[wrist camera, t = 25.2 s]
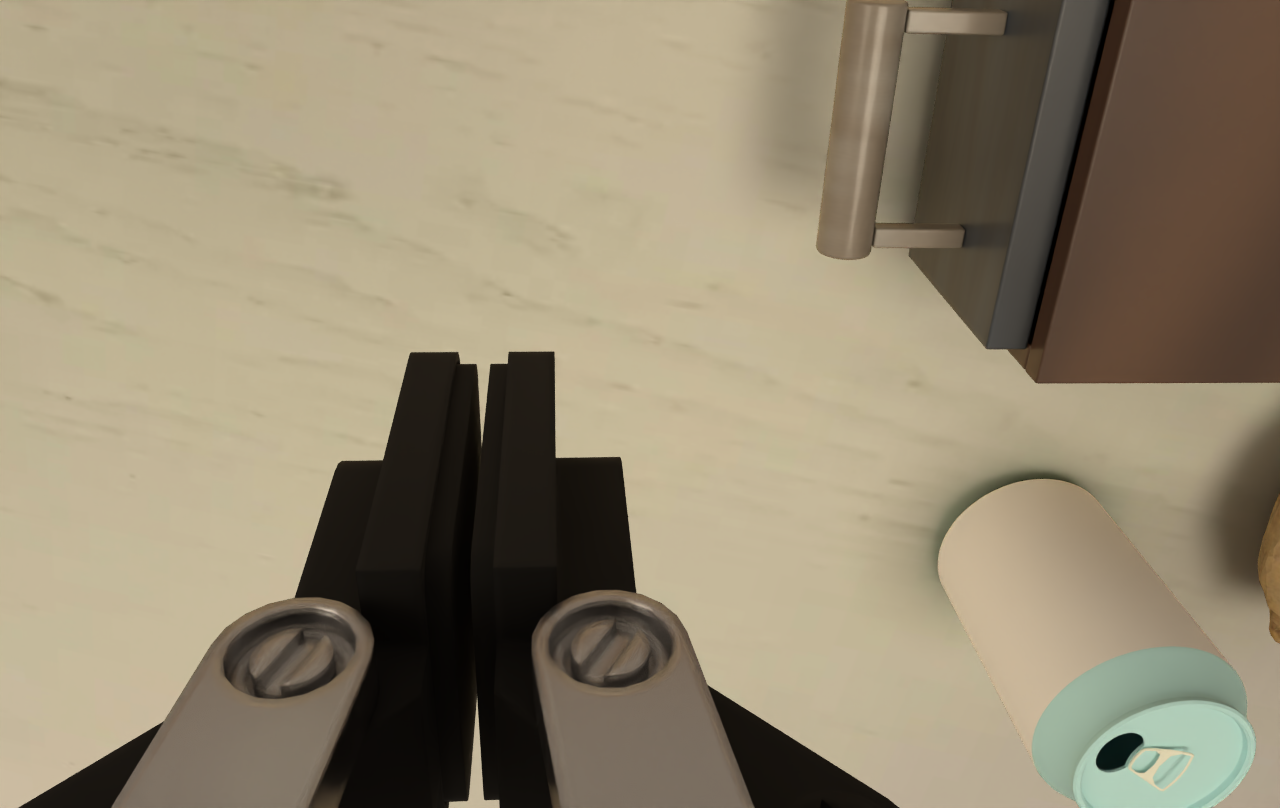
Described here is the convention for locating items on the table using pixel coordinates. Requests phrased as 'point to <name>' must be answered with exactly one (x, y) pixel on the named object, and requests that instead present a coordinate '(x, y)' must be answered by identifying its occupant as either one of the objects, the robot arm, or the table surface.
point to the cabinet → (1171, 206)
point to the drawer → (968, 147)
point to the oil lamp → (1271, 569)
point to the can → (1094, 653)
